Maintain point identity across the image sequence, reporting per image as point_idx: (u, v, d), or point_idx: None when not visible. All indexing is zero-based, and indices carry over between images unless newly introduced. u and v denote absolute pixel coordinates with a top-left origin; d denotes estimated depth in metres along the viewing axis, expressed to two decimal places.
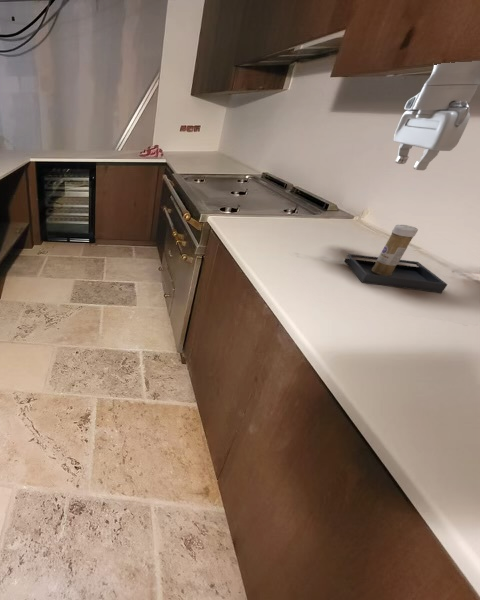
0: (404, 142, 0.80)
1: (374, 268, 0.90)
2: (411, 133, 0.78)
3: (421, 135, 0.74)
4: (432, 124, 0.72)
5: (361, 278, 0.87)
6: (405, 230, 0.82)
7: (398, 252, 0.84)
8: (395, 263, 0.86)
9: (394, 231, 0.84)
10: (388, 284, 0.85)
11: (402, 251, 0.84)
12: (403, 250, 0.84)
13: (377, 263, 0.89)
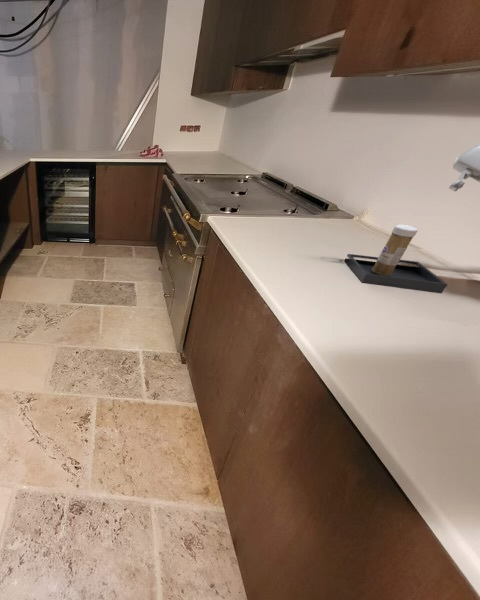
0: None
1: (374, 268, 0.90)
2: None
3: None
4: None
5: (361, 278, 0.87)
6: (405, 230, 0.82)
7: (398, 252, 0.84)
8: (395, 263, 0.86)
9: (394, 231, 0.84)
10: (388, 284, 0.85)
11: (402, 251, 0.84)
12: (403, 250, 0.84)
13: (377, 263, 0.89)
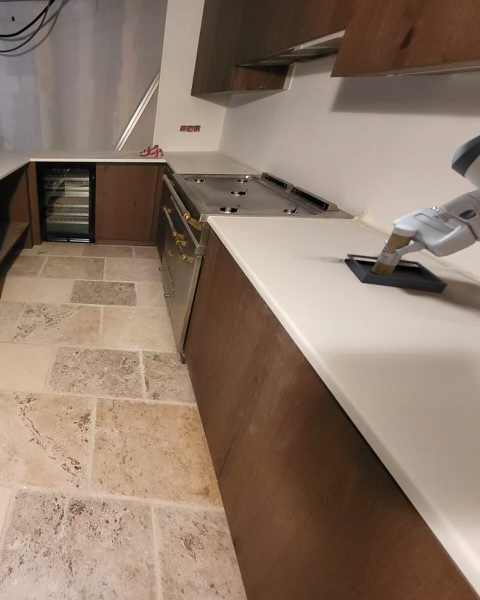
0: None
1: (374, 268, 0.90)
2: None
3: None
4: None
5: (361, 278, 0.87)
6: (405, 230, 0.82)
7: None
8: (395, 263, 0.86)
9: (394, 231, 0.84)
10: (388, 284, 0.85)
11: None
12: None
13: (377, 263, 0.89)
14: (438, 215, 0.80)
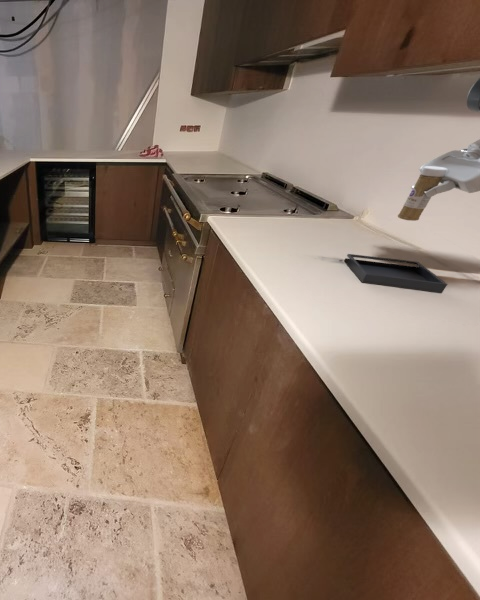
0: None
1: (401, 213, 0.89)
2: None
3: None
4: None
5: (361, 278, 0.87)
6: (434, 170, 0.81)
7: None
8: (423, 206, 0.85)
9: (423, 172, 0.83)
10: (388, 284, 0.85)
11: None
12: None
13: (404, 208, 0.88)
14: (469, 153, 0.79)
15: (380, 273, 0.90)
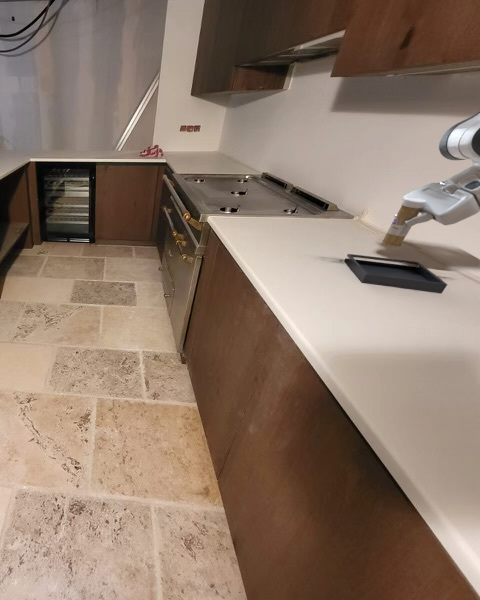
0: None
1: (384, 240, 0.96)
2: None
3: None
4: None
5: (361, 278, 0.87)
6: (414, 202, 0.88)
7: None
8: (404, 234, 0.92)
9: (404, 203, 0.90)
10: (388, 284, 0.85)
11: None
12: None
13: (387, 235, 0.95)
14: (445, 187, 0.86)
15: (380, 273, 0.90)
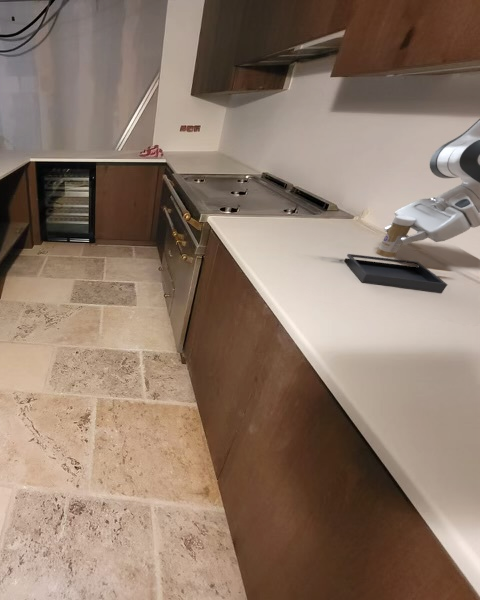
0: None
1: None
2: None
3: None
4: None
5: (361, 278, 0.87)
6: (404, 220, 0.90)
7: (398, 240, 0.93)
8: (395, 250, 0.95)
9: (394, 221, 0.93)
10: (388, 284, 0.85)
11: None
12: None
13: (379, 251, 0.98)
14: (436, 204, 0.88)
15: (380, 273, 0.90)
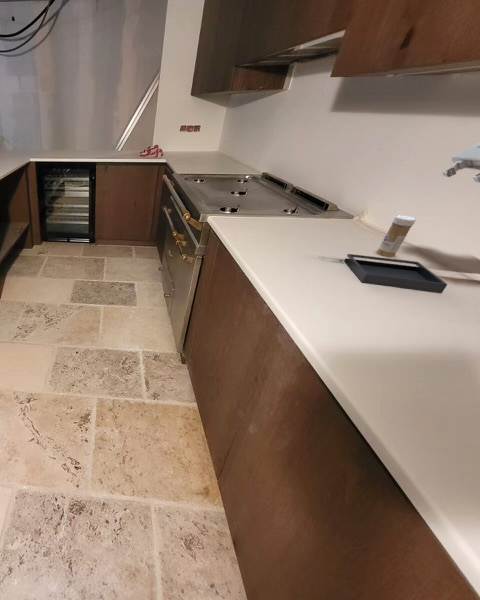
0: None
1: None
2: None
3: None
4: None
5: (361, 278, 0.87)
6: (404, 220, 0.90)
7: (398, 240, 0.93)
8: (395, 250, 0.95)
9: (394, 221, 0.93)
10: (388, 284, 0.85)
11: (402, 239, 0.93)
12: (402, 238, 0.93)
13: (379, 251, 0.98)
14: None
15: (380, 273, 0.90)
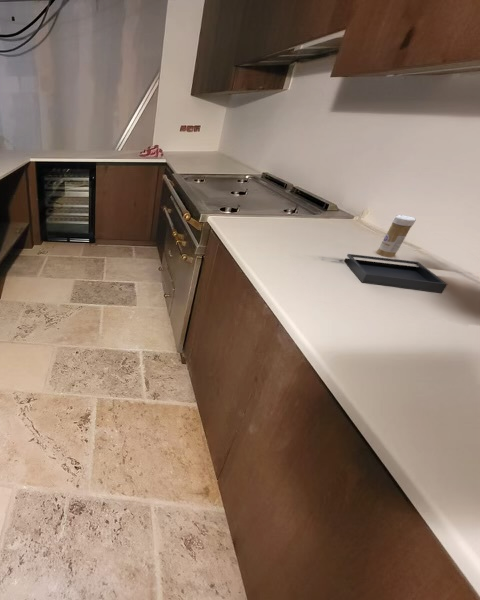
0: None
1: None
2: None
3: None
4: None
5: (361, 278, 0.87)
6: (404, 220, 0.90)
7: (398, 240, 0.93)
8: (395, 250, 0.95)
9: (394, 221, 0.93)
10: (388, 284, 0.85)
11: (402, 239, 0.93)
12: (402, 238, 0.93)
13: (379, 251, 0.98)
14: None
15: (380, 273, 0.90)
